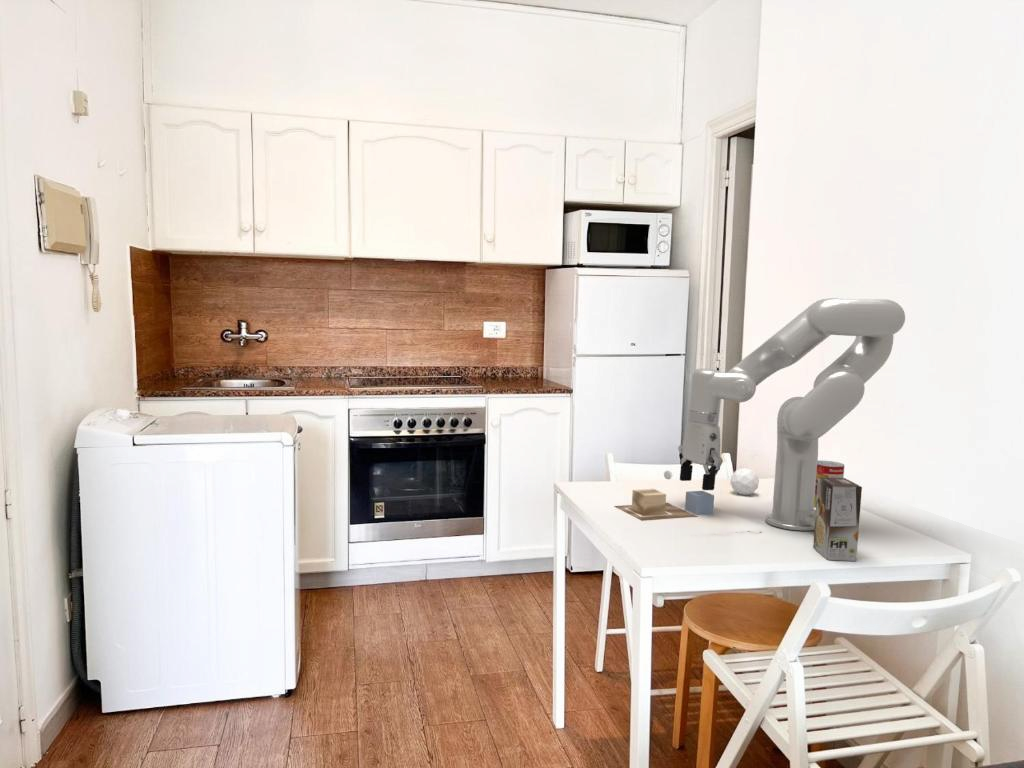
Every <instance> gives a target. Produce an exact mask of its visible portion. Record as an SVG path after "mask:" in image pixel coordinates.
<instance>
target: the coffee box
mask: <svg viewBox="0 0 1024 768" xmlns="http://www.w3.org/2000/svg"><path fill="white" fill-rule="evenodd" d="M862 490H863V487H862V486H861V485H859V484H857V483H856V482H853V481H852V480H849V479H847V478H845V477H843V478H832V477H826V478H824V477H818V483H817V498H816V507H815V510H816V514H815V528H814V530H813V531H814V533H813V545H812V548H813V549H814V550H815V551H817V552H818V553H819V554H820V555H821V556H823V557H824V558H825V559H826V560H829V561H846V562H856V561H857V556H858V555H857V554H858V545H859V544H858V543H859V542H858V541H859V530H860V516H861V504H862V492H863V491H862Z"/></svg>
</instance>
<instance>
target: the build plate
mask: <svg viewBox="0 0 1024 768" xmlns="http://www.w3.org/2000/svg"><path fill="white" fill-rule="evenodd" d="M613 507H614V508H616V509H618V510H620V511H622V512H624V513H626V514H628V515H630V516H632V517H634V518H635V519H637V520H639V521H641V522H642V521H643V522H644V521H657V520H659V521H660V520H670V519H671V520H673V519H683V518H684V519H686V518H687V519H688V518H698V517H699V515H695V514H693V513H691V512H688V511H686V510H685V509H682V508H680V507H678V506H675V505H673V504H671V503H670V502H666V506H665V514H658V515H642V514H640V513H638V512H636V511H634V510H632V504H628V505H627V504H626V505H624V504H623V505H613Z"/></svg>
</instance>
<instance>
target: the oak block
mask: <svg viewBox="0 0 1024 768" xmlns="http://www.w3.org/2000/svg"><path fill="white" fill-rule="evenodd" d="M631 494H632V495H631V496H632V498H631V505H632V510H634V511H636V512H638V513H640V514H642V515H658V514H665V506H666V503H667V502H666V501H667V494H666V493H663V492H661V491H660V490H657V489H656V488H655V489H654V488H646V489H645V488H644V489H632V493H631Z"/></svg>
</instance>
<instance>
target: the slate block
mask: <svg viewBox="0 0 1024 768" xmlns="http://www.w3.org/2000/svg"><path fill="white" fill-rule="evenodd" d="M684 503H685V504H684V510H685V511H687V512H689V513H691V514H694V515H696V516H700V515H701V516H702V515H714V505H715V495H714V494H713V493H710V492H707V491H706V490H693V491H692V490H691V491H685V502H684Z"/></svg>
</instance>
